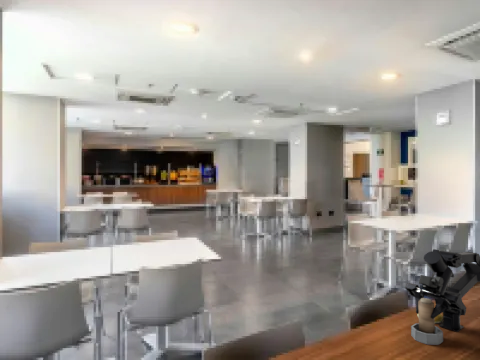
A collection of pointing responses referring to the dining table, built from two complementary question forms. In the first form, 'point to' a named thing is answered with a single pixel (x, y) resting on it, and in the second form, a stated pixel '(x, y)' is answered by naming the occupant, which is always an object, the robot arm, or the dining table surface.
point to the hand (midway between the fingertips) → (424, 315)
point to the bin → (427, 335)
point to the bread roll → (437, 318)
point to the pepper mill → (426, 316)
